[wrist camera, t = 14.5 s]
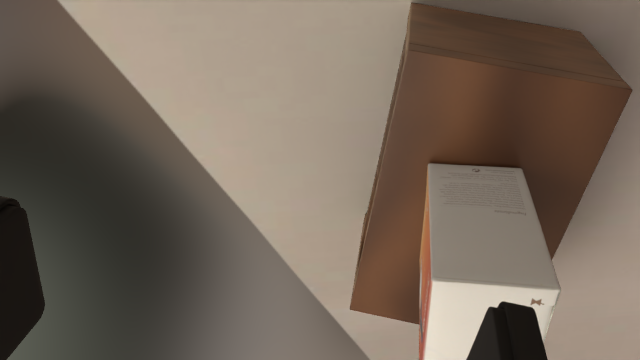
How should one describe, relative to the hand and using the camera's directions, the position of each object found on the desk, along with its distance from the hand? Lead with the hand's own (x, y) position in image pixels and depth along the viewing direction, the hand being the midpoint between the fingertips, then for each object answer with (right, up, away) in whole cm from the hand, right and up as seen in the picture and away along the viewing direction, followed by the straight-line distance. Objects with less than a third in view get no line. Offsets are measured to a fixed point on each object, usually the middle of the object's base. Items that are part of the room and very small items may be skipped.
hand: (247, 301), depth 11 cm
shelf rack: (+13, +6, +32) cm, 35 cm away
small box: (+11, 0, +23) cm, 26 cm away
